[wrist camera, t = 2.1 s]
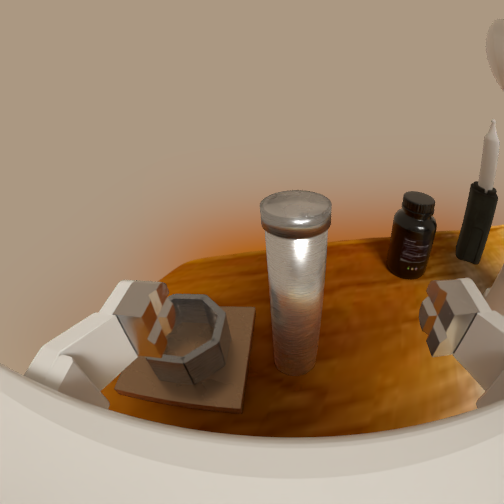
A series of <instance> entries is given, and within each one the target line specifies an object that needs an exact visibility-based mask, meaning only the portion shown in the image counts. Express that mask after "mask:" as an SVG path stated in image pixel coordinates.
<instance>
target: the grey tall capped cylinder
mask: <svg viewBox="0 0 504 504" xmlns="http://www.w3.org/2000/svg"><path fill="white" fill-rule="evenodd" d="M260 212H261V224H262V227H263V229H264V230H265V239H266V251H267V264H268V277H269V291H270V305H271V319H272V334H273V349H274V362H275V365H276V367H277V368H278V370H279V371H281V372H282V373H284V374H286V375H290V376H299V375H303V374H306V373H307V372H309V371H310V370H311V369H312V368H313V367H314V365H315V363H316V357H317V349H318V341H319V333H320V324H321V314H322V304H323V294H324V282H325V268H326V253H327V234H328V228H329V227H330V225H331V202H330V200H329V199H328V198H327V197H325V196H323V195H321V194H318V193H315V192H310V191H301V190H300V191H299V190H292V191H283V192H278V193H275V194H272V195H269V196H268V197H266V198H264V199H263V200H262V201H261V203H260Z"/></svg>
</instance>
